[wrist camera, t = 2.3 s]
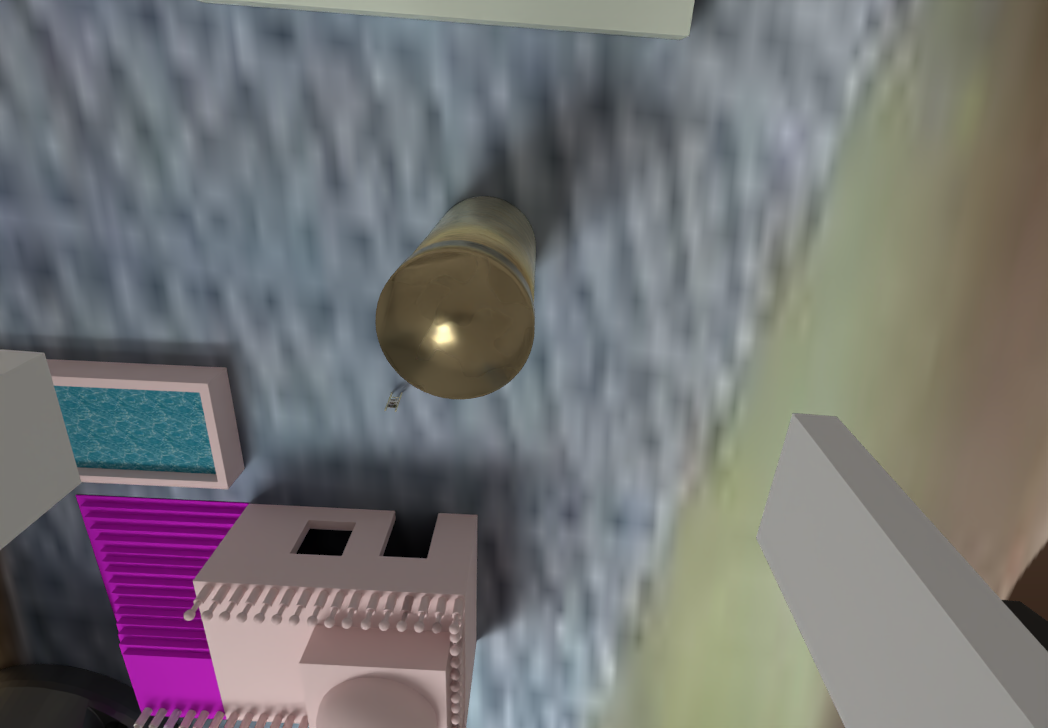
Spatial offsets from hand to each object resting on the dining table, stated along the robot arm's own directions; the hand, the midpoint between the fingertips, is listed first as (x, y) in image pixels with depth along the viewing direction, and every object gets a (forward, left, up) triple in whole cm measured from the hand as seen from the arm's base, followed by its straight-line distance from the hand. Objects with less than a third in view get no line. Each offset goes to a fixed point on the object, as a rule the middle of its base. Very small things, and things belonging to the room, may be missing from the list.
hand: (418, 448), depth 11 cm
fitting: (0, 0, -17) cm, 17 cm away
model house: (-12, -16, -17) cm, 26 cm away
